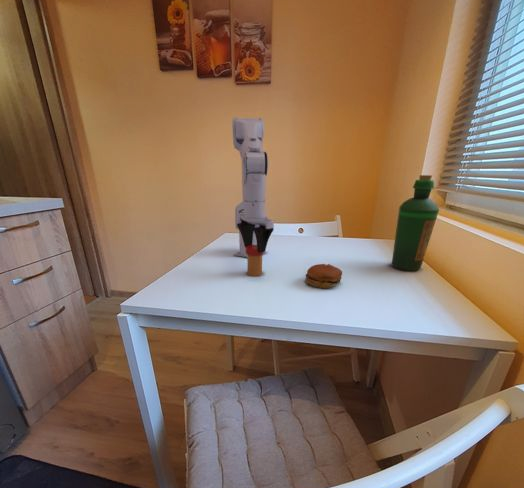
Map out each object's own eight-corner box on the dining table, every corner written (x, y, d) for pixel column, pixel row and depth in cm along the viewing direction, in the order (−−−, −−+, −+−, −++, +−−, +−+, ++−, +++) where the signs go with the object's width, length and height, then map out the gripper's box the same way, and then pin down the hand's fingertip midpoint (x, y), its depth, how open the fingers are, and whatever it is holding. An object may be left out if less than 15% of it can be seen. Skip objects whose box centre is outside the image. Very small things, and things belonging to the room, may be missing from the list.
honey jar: (250, 270, 86) (250, 246, 83) (263, 272, 85) (264, 247, 82) (245, 275, 83) (245, 250, 80) (259, 276, 81) (259, 251, 78)
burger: (309, 289, 73) (310, 272, 72) (302, 276, 82) (304, 261, 80) (346, 289, 74) (348, 272, 72) (335, 276, 82) (337, 261, 81)
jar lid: (247, 256, 79) (247, 249, 78) (244, 251, 83) (244, 245, 82) (265, 255, 80) (265, 248, 79) (261, 250, 84) (261, 244, 84)
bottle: (430, 273, 86) (456, 176, 75) (395, 272, 86) (416, 175, 75) (414, 262, 96) (434, 175, 85) (382, 261, 96) (399, 174, 85)
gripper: (283, 202, 73) (281, 252, 78) (251, 197, 83) (251, 242, 88) (261, 204, 69) (261, 257, 74) (231, 199, 79) (232, 245, 85)
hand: (254, 249), depth 81 cm, fingers open, 6 cm apart
